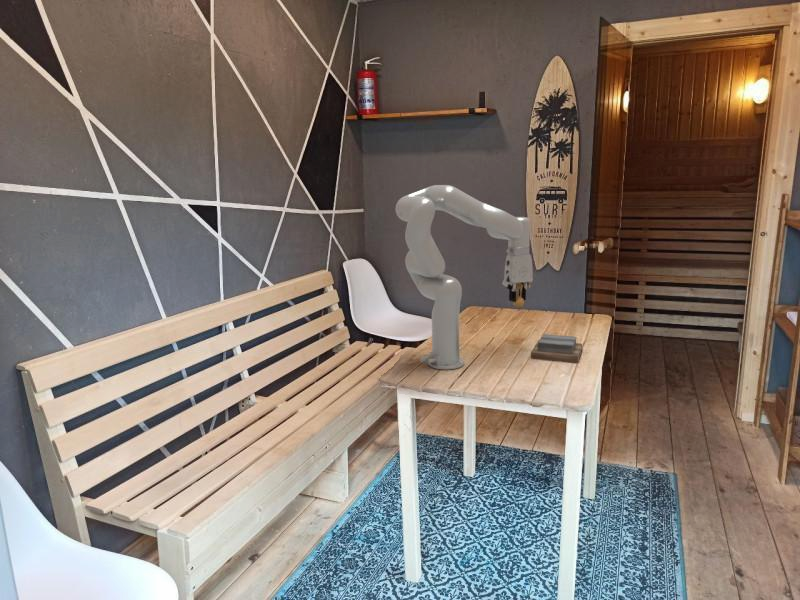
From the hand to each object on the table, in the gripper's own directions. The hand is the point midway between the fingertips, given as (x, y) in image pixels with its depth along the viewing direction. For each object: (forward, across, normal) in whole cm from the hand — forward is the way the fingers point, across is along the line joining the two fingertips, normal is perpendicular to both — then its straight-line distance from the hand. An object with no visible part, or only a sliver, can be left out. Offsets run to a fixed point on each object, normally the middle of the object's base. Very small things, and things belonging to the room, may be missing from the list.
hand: (517, 299), depth 209 cm
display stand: (+19, +8, -13) cm, 24 cm away
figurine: (+3, +1, 0) cm, 3 cm away
